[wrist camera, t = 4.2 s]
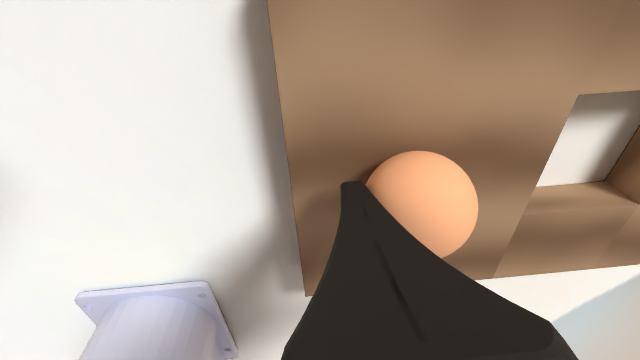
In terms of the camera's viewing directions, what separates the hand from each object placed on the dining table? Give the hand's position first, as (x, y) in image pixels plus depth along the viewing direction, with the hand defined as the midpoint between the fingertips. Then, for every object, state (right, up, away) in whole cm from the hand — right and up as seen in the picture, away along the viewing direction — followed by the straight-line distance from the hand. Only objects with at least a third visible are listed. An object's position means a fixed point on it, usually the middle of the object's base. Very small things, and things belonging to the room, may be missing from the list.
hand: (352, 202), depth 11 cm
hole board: (+7, +3, +3) cm, 9 cm away
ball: (+2, 0, 0) cm, 2 cm away
